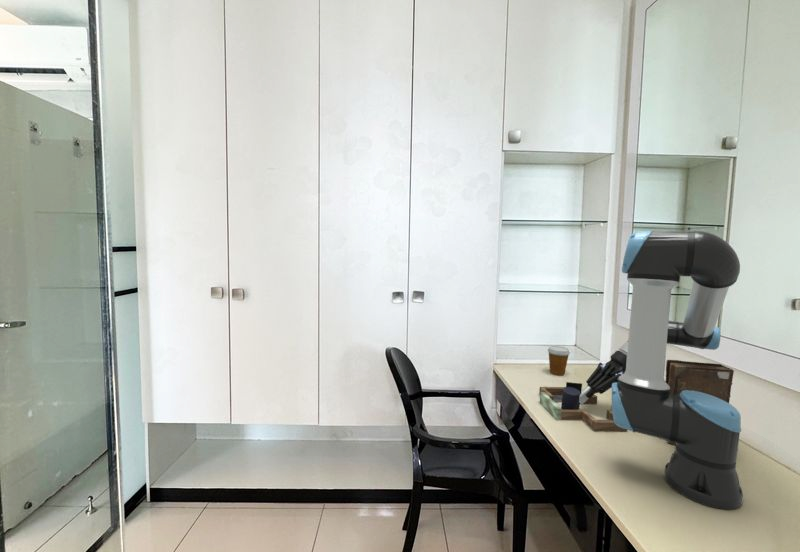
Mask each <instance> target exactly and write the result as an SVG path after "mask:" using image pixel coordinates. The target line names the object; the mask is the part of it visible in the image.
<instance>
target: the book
mask: <svg viewBox="0 0 800 552" xmlns="http://www.w3.org/2000/svg"><path fill="white" fill-rule="evenodd" d="M734 373H735V370H734V369H732V368H730V367H728V366H725V365H723V364H720V363H711V362H700V361H699V362H697V361H685V360H678V359H667V360H666V361H665V380H664V381H665V382H666V383H667V384H668V385H669V386H670V394H672V395H677V396H680V393H681V392H682V391H684V390H689V391H698V392H702V393H705V394H709V395H711V396H714V397H717V398H719V399H721V400H723V401H725V402H727V403H729V404H730V398H731V391H732V385H733V380H734V379H733V378H734ZM666 443H667V444H671V445H676V442H672V441H668V440H666Z"/></svg>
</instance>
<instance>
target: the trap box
mask: <svg viewBox="0 0 800 552" xmlns="http://www.w3.org/2000/svg"><path fill="white" fill-rule="evenodd" d="M564 387H565V386H539V393H538V394H539V403H540V404H541V405H542V407H544V409H545V410H547V412H548V413H549V414H550V415H551V416H552V417H553V418H554V419H555V420H557V421H583V423H585V424H586V425H587V426H588V428H590V429H592V431H594V432H628V430H627V429H624V428H621V427H618V426H617V425H616V424H615V422H614V419H613V413H612V409H606V417H605V418H606V419H596V418H595V417H594V416H593V415H592V414H590V413H589V412H588V411H587V410H586V409H578V410H562V409H561V407H560V406H559V404H557V403H562V394H563V388H564ZM597 404H598V396H597V395H596V394H594V395H593V396H592V397H591V398H589V399H588V400H587V401H586V402H584V403H583V404H582V405H597Z"/></svg>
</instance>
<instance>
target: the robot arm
mask: <svg viewBox="0 0 800 552" xmlns="http://www.w3.org/2000/svg"><path fill="white" fill-rule="evenodd" d="M739 259H740V258H739V257H738V253H737V252H736V251H735V249H734V248H733V247H732V246H731V245H730V243H728V242H727V240H724V239H723V238H721V237H720V236H718V235H716V234H713V233H710V232H708V231H701V230H693V231H686V230H685V231H683V230H681V231H680V230H679V231H678V230H644V231H643V230H642V231H634V232H632V234H631V235H629V238H628V240H627V245H626V248H625V252H624V258H623V262H622V267H621V272H622V273H623V274H625V275H626V274H627V277H626V280H627V282H629V283H630V284H631V285H632V293H631V294H632V295H631V304H630V305H631V306H630V307H631V308H630V317H629V318H630V319H629V328H628V340H627V341H626V342H624V343H623V344H622V345H621V346H620V347H619V348H618V350H615V351H614V352H613V353H612V354H611V355H610V360H609V361H607V362H606V363H602V362H599V363H598V365H597V367H596V368H595V369H594V371H593V372H592V374H591V375H590V376H589V377H588V378H587V380H586V381H585V383H586V384H587V386H585V388H583V389H582V390H581V394H580V398H579V403H580V405H584V404H583V403H584V402H586V401H587V400H588V399H589V398H591V397H592V396H593V395H596V394H599V395H602V394H604V393H605V392H607V391H608V390H610V389H611V410H612V413H613V419H614V422H615V424H616V425H617V426H618V427H621V428H624V429H627V431H631V432H632V433H638V434H643V435H646V436H650V437H653V438H656V439H661V440H666V441H667V440H668V441H672V442H676V444H675V449H674V451H673V453H672V454H671V456H670V459H669V461H668V462H667V463H666V465H665V467H664V475H663V478H664V480H665V481H666V483H667V485H669V486H670V487H671V488H672V489H673V490H674V491H676V492H677V493H679V494H681V495H682V496H684V497H685V498H688V499H689V500H691V501H694V502H696V503H699V504H702V505H704V506H707V507H711V508H716V509H722V510H735V509H739V508H740V507H741V506H742V504H743V497H744V494H743V490H742V487H741V485H740V480H739V475H738V473H737V469H736V468H737V460H738V458H737V457H738V450H739V449H738V448H739V441H740V434H741V432H742V428H741V425H742V424H741V423H742V422H741V421H742V420H741V416H742V415H741V413H740V411H739V410H738V409H737V408H736V407H735V406H734V405H732V404H730V402H729V403H727V402H725V401H723V400H721V399H719V398H717V397H714V396H711V395H709V394H705V393H702V392H698V391H689V390H684V391H682V392H681V393H680V396H677V395H672V394H670V386H669V385H668V384H667V383H666V382H665V381H666V380H665V370H666V355H667V344H668V345H673V346H674V345H675V346H681V347H688V348H689V347H690V348H695V349H700V350H711V351H712V350H713V351H715V350H717V349H719V347H720V345H721V344H720V343H721V335H722V334H721V329H720V327H718V326H717V323H718V320H719V317H720V313H721V311H722V307H723V305H724V302H725V300H726V296H727V294H728V290H729V289H730V287H732V286H733V285H734V284H735V283H736V282H737V280H738V278H739V275H740V271H741V264H740V260H739ZM681 277H690V278H691V280H692V284H691V288H690V293H689V297H688V302H687V307H686V311H685V316H684V320H683V322H679V321H671V320H670V309H671V301H672V300H671V297H672V289H674V288H675V287H676V286H677V285H679V284H680V280H681Z"/></svg>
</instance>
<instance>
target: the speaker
mask: <svg viewBox="0 0 800 552" xmlns="http://www.w3.org/2000/svg"><path fill="white" fill-rule="evenodd" d="M563 387H564V388H563V394H562V402H561V407H560V408H561V409H562V410H580V408H581V407H580V406H581V404H580V403H579V398H580V394H581V392H582V391H583V383H581V382H580V383H579V382H572V381H571V382H570V381H569V382H568V381H566V384H565V386H563Z"/></svg>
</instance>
